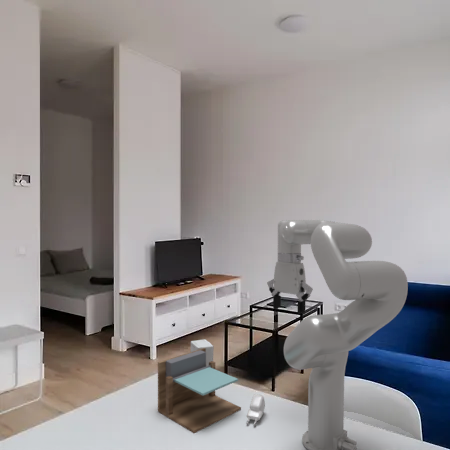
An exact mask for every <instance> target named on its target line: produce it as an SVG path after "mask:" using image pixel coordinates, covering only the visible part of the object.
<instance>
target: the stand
mask: <svg viewBox="0 0 450 450" xmlns="http://www.w3.org/2000/svg"><path fill="white" fill-rule="evenodd" d="M199 350H201V351H204V352H206V348H203V349H199ZM199 350H196V351H199ZM196 351H193V352H196ZM193 352H187V353H184V354H181V355H178V356H177V355H176V356H174V357H170V358H167V359H165V360H161V361H158V362H157V412H158V413H159V414H161V415H163V416H164V417H165V418H168V419H170V420H171V421H173V422H174V423H176V424H178V426H179V425H180V426H181V427H183V428H185V429H186V430H188V431H189V432H191V433H193V434H195V433H197V432H199V431H202V430H203V429H205V428H208V427H210V426H212V425H214V424H216V423H217V422H220V421H221V420H224V419H226V418H227V417H228V418H229V416H231V415H233V414H235V413H237V412H239V411H241V410H242V407H241V406H239V405H236V404H234V403H232V402H230V401H228V400H227V399H224V398H222V397H220V396H218V395H216V390H215V391H213V392H210V393H208V394H206V395H201V394H199V393H197V392H195V391H193V390H190V389H188V388H186V387H184V386H182V385H180V384H178V383H176V382H173V377H171V376H168V377H166V361H167V360H170V359H173V358H176V357H180V356H183V355H186V354H189V353H193ZM209 365H210V366H211V368H213V369H215V370H216V361H214V360H213V361H211V362H209Z"/></svg>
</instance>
